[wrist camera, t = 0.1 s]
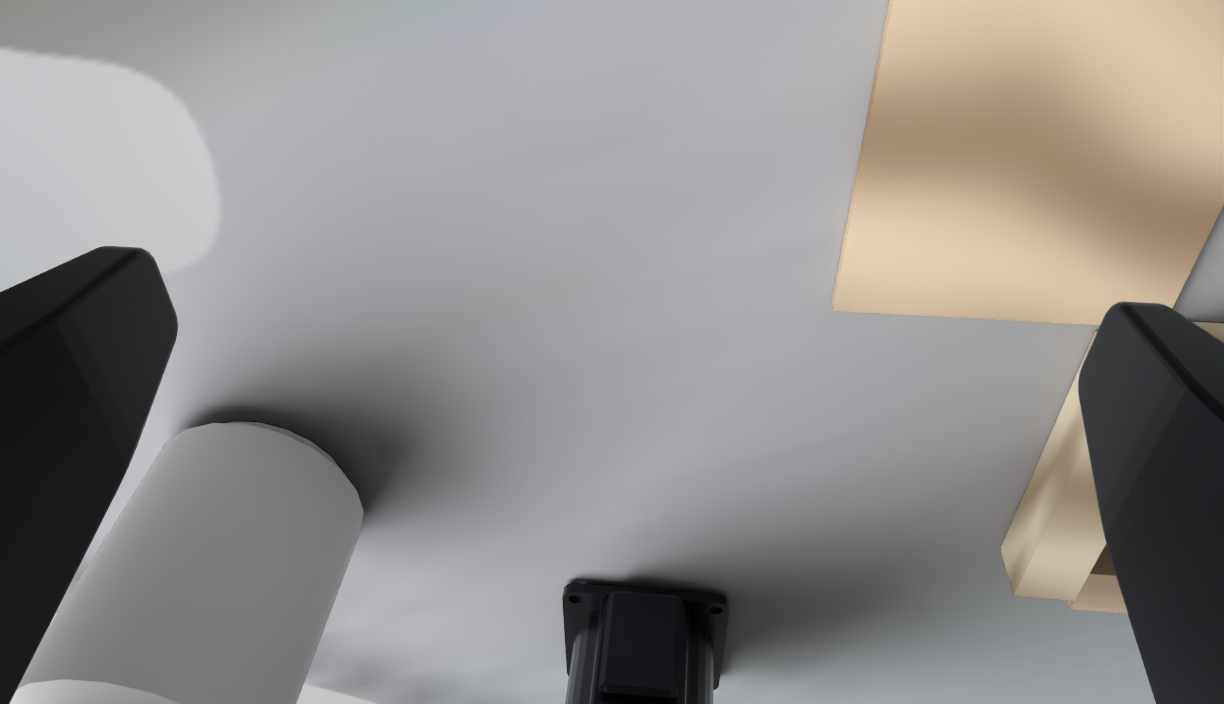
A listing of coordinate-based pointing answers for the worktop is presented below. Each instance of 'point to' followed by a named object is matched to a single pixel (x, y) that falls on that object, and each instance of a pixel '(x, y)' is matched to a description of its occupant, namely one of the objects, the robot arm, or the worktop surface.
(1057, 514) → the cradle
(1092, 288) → the wooden panel
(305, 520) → the can
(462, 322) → the worktop surface
